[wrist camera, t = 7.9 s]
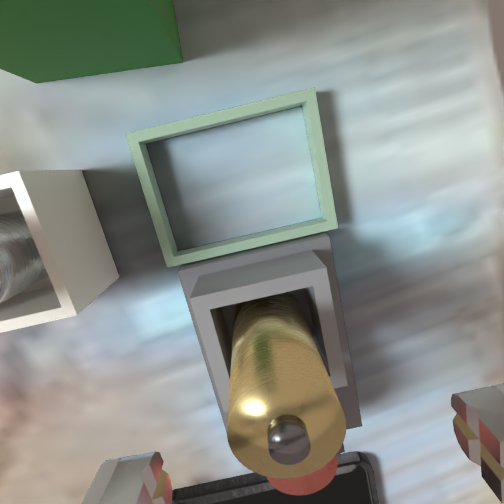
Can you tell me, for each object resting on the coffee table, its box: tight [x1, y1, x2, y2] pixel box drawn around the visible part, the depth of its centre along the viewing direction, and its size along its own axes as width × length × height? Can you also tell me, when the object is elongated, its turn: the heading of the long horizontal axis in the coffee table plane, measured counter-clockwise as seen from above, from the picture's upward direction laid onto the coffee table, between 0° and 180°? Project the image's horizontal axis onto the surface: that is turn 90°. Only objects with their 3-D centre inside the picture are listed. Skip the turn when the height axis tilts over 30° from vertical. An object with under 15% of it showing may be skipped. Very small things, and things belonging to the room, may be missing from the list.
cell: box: [227, 291, 346, 479], centre depth 13 cm, size 4×4×9 cm
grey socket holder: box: [177, 232, 362, 461], centre depth 18 cm, size 12×8×5 cm, turn 13°
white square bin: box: [0, 170, 119, 333], centre depth 16 cm, size 6×6×5 cm
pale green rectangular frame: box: [125, 87, 338, 268], centre depth 17 cm, size 7×9×1 cm
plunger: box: [266, 455, 337, 495], centre depth 17 cm, size 3×3×3 cm
